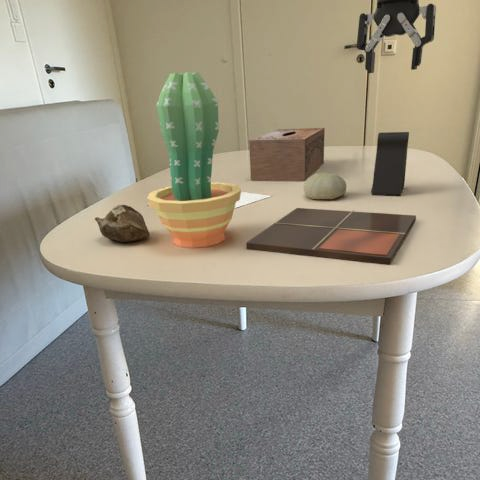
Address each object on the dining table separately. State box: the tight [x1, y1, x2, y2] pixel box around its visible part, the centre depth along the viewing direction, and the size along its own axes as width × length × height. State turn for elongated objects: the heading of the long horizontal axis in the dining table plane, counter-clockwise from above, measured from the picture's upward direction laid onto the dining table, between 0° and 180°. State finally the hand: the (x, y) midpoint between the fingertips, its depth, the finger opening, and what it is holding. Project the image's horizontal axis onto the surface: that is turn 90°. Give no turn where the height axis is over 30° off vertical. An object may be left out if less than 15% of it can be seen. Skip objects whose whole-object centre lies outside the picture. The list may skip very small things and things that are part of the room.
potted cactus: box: [146, 71, 242, 249], centre depth 70 cm, size 15×15×25 cm
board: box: [245, 207, 417, 265], centre depth 74 cm, size 22×22×1 cm
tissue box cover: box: [248, 127, 326, 182], centre depth 124 cm, size 26×14×10 cm, turn 160°
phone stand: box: [371, 131, 410, 197], centre depth 96 cm, size 9×6×12 cm, turn 157°
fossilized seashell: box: [94, 204, 150, 243], centre depth 78 cm, size 8×7×10 cm
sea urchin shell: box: [303, 172, 348, 201], centre depth 96 cm, size 9×8×8 cm
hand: (391, 71), depth 90 cm, fingers open, 8 cm apart
